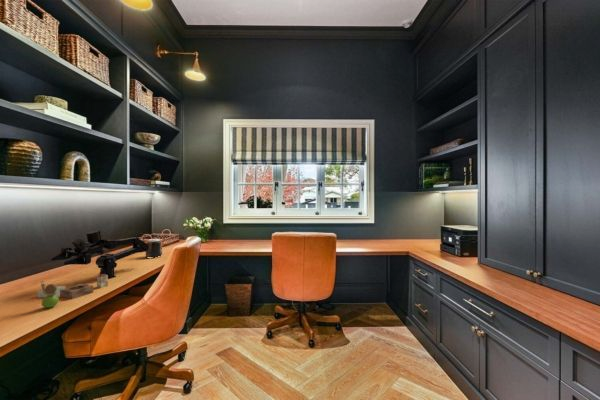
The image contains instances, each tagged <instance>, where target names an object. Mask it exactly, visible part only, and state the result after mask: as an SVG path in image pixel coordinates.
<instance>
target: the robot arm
mask: <svg viewBox="0 0 600 400" xmlns="http://www.w3.org/2000/svg"><path fill="white" fill-rule="evenodd" d="M84 234H85V238H86V241H85V240H83V239H81V238H76V239H75V240H73V241H72V242H71V244H72V245H73V247H74V248H73V249H72V247H70V246H63V247H61V248H60V252H59V253H58V254H56V255H55V256H53V257H51V258H50V260H51V262H52V261H53V262H54V261H64V260H65V262H63V265H65V266H66V265H67V266H69V265H82V266H83V265H89V264H91V262H92V256H93V255H95V254H97V255H99V256H98V257H97V258H96V259H95V265H96V266H97V267H98V269H100V271H99V275H102V274H106V275H108V280H109V279H111V278H116V277H117V275H115V269H116V268H117V267H118V263H117V261H119V260H122V259H124V258H127V257H131V256H132V255H135V254H138V253H146V251H148V249H149V245H148V244H147V243H146V242H145V241H143V240H141V239H140V238H139V237H136V236H133V237H127V238H120V239H105V238H102V236H101V235H102V234H101V231H100V230H93V231H87V232H85V233H84ZM126 245H132V247H130V248H127V249H125V250H122V251H119V252H117V253H105V250H108V251H109V250H113V249H116V248H118V247H119V246H120V247H121V246H126ZM72 257H73V258H72Z"/></svg>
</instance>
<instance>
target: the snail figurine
mask: <svg viewBox="0 0 600 400" xmlns="http://www.w3.org/2000/svg"><path fill="white" fill-rule="evenodd" d="M40 286H41V290H42V291H43V293H44V294H45V295H47V296H46V297H43V299H42V300H41V306H42V307H43V308H46V309H51V308H54V307H56V306H57V305H58V303H59V301H60V297H59V295H57V296H56V295H55V294H56V293H54V292H55V291H56V289H57V288H56V286H57V285H56V284H53V283H50V284H47V285H46V283H45V282H44V280H41V281H40Z"/></svg>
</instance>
